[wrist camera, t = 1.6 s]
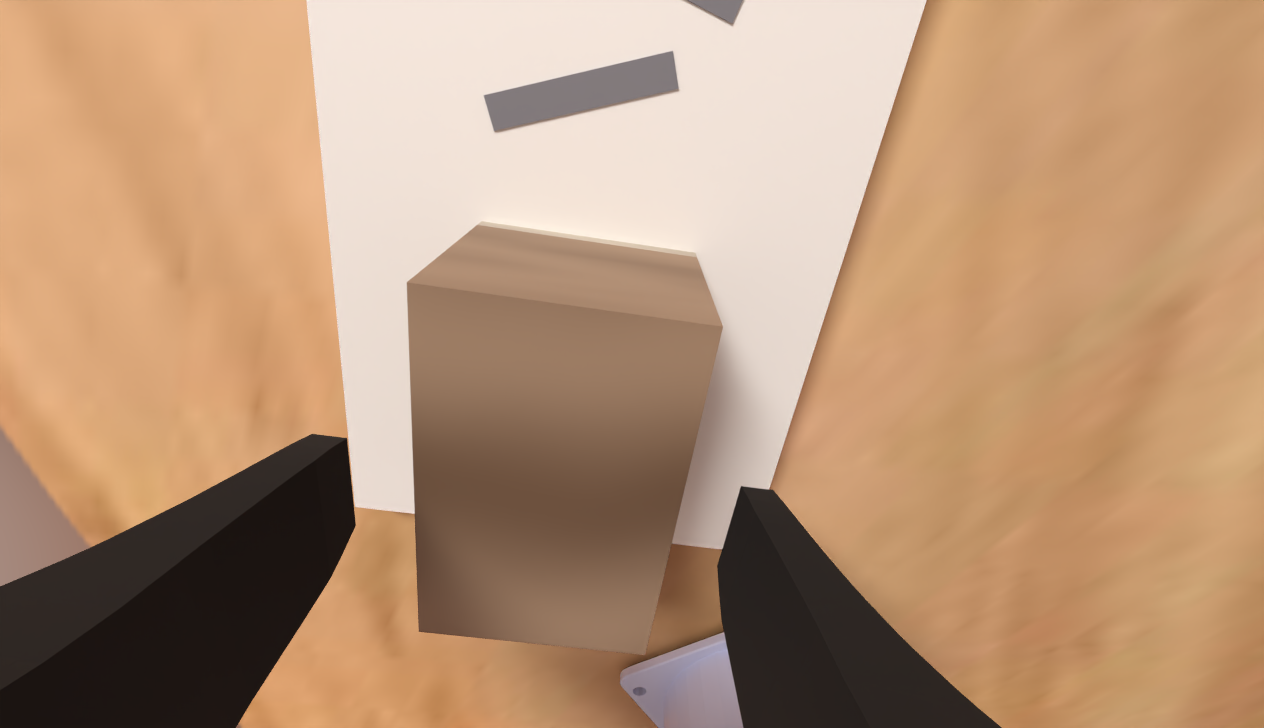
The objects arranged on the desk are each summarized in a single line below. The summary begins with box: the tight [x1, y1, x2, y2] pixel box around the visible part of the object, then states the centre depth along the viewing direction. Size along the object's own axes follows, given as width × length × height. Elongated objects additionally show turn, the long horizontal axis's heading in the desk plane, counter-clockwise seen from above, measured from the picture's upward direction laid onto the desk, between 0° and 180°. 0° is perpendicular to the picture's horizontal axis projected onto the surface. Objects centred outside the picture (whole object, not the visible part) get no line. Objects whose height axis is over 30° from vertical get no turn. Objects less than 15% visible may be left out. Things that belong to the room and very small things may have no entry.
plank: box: [307, 0, 927, 549], centre depth 12 cm, size 26×12×1 cm, turn 172°
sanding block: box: [407, 221, 723, 655], centre depth 12 cm, size 8×5×5 cm, turn 172°
